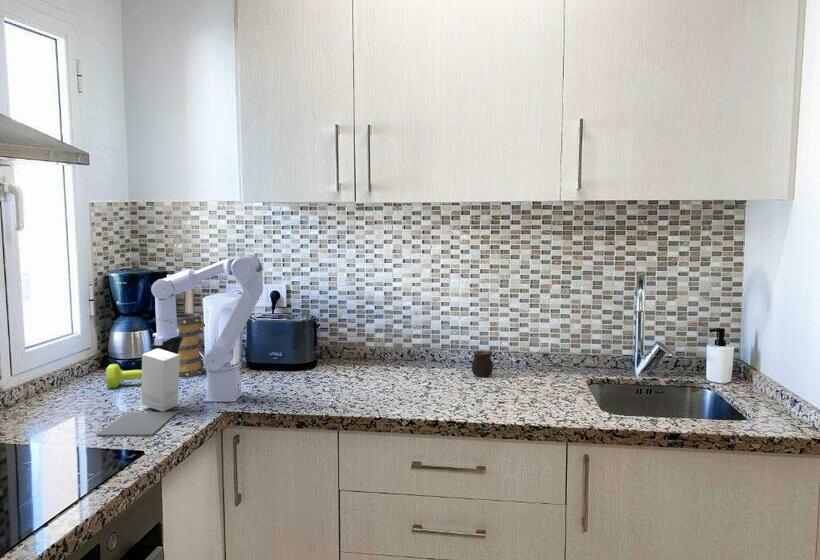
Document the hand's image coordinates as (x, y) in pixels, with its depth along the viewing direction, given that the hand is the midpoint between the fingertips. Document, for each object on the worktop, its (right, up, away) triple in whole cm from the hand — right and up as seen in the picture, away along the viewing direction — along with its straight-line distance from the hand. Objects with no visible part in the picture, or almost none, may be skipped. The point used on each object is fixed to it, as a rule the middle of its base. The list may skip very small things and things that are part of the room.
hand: (168, 364), depth 205 cm
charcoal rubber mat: (0, -13, -22) cm, 26 cm away
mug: (-2, -7, +31) cm, 31 cm away
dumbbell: (-16, -9, +16) cm, 25 cm away
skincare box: (0, -11, -8) cm, 14 cm away
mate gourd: (+96, -7, +23) cm, 99 cm away
